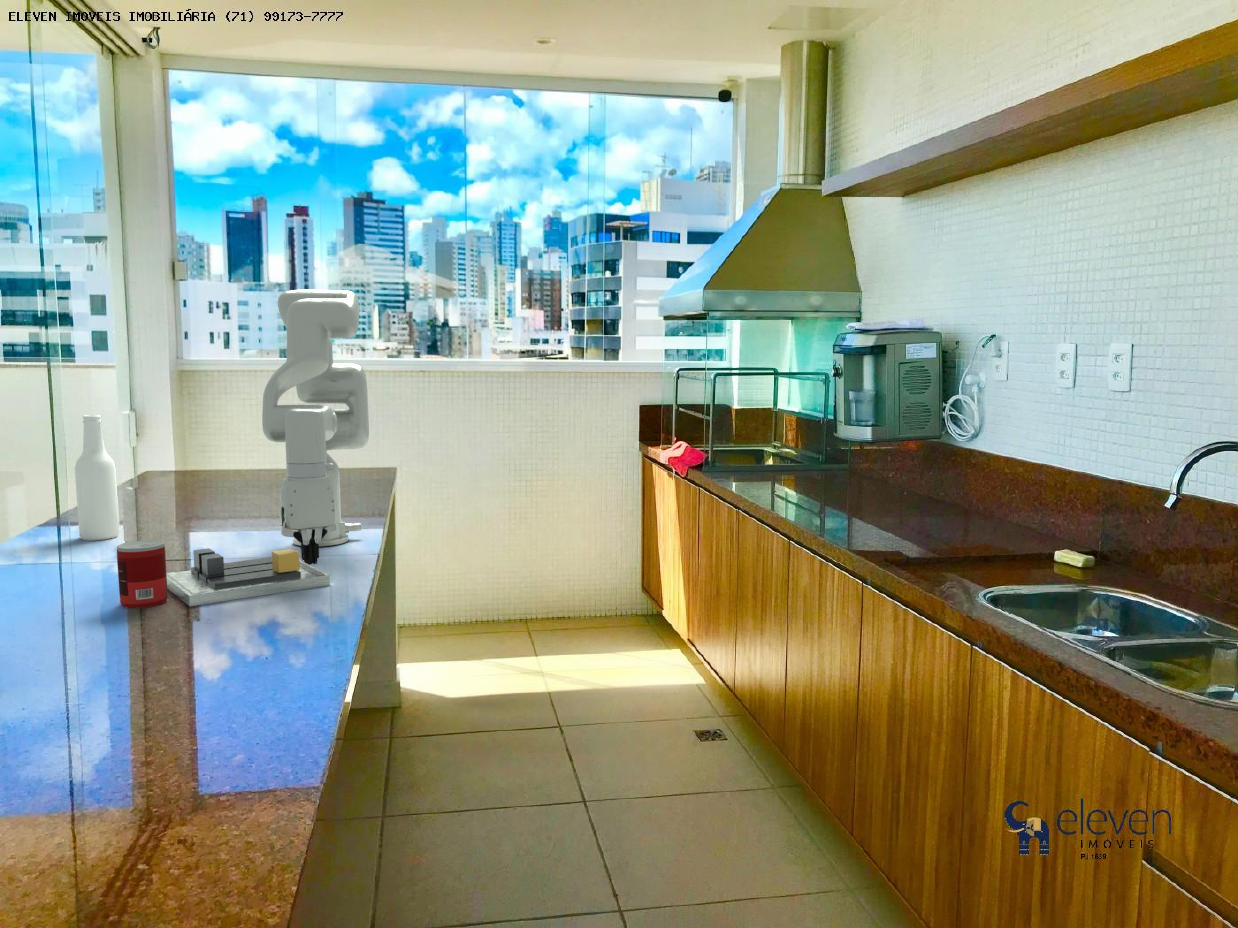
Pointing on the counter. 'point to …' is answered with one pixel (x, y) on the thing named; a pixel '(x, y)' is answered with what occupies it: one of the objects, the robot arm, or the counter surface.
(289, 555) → the mustard yellow cube
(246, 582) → the panel
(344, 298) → the robot arm
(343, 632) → the counter surface
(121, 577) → the canned food
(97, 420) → the alcohol
